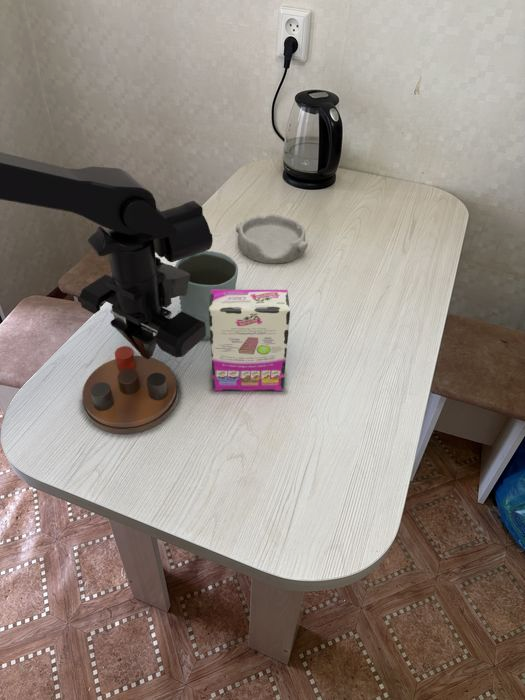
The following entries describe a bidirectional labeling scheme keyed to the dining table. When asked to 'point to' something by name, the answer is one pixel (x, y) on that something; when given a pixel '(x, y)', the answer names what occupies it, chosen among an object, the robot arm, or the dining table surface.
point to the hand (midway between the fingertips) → (148, 356)
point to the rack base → (137, 428)
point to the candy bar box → (248, 339)
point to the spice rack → (129, 390)
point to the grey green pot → (206, 282)
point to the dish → (271, 238)
